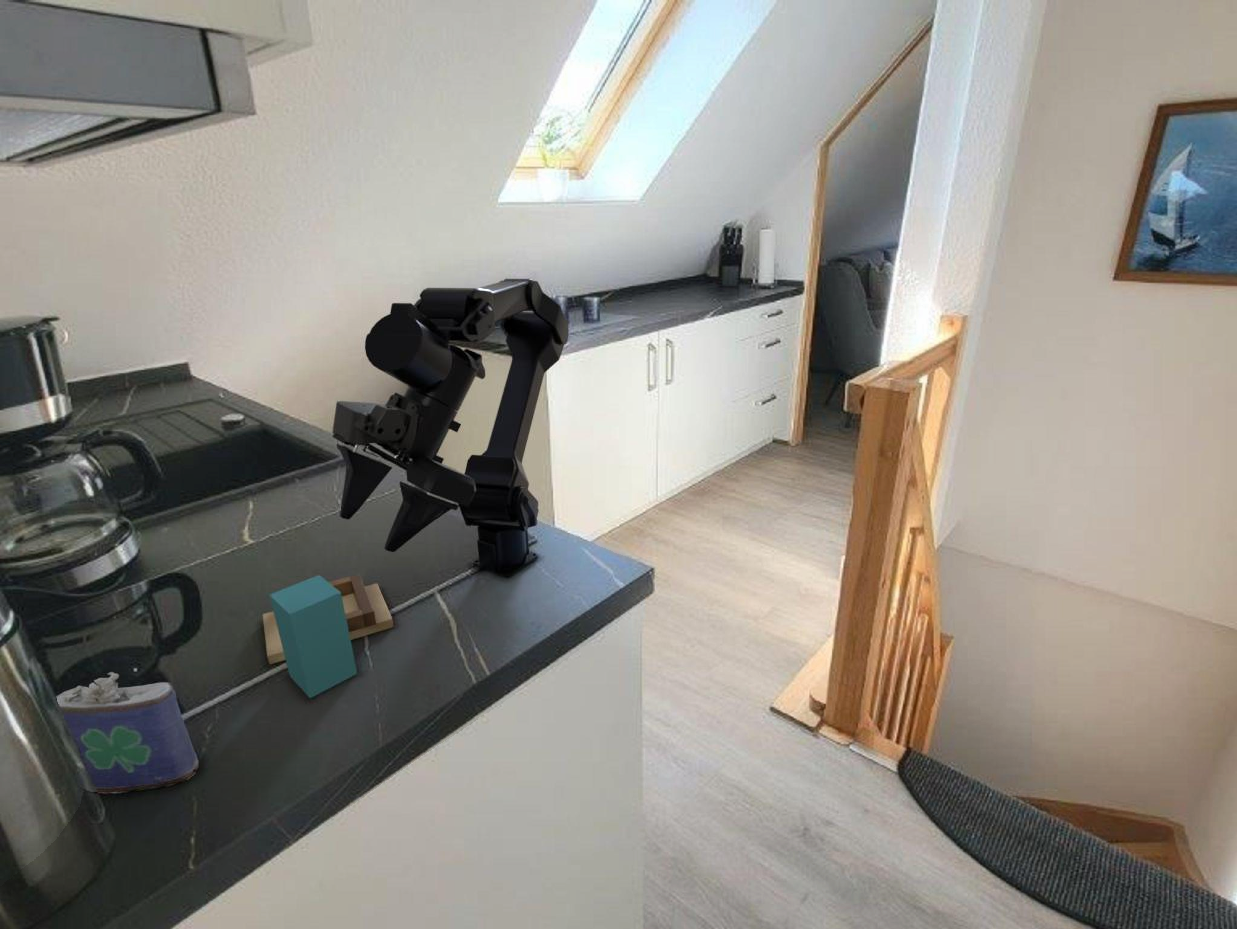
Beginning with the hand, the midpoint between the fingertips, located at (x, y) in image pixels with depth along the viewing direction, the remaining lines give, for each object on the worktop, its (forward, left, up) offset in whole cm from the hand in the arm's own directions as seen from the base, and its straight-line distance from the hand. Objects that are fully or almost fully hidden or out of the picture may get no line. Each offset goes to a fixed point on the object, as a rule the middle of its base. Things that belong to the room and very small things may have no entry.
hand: (365, 533), depth 68 cm
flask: (+23, -3, -14) cm, 27 cm away
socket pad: (+1, -9, -14) cm, 16 cm away
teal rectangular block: (+7, -1, -14) cm, 15 cm away
